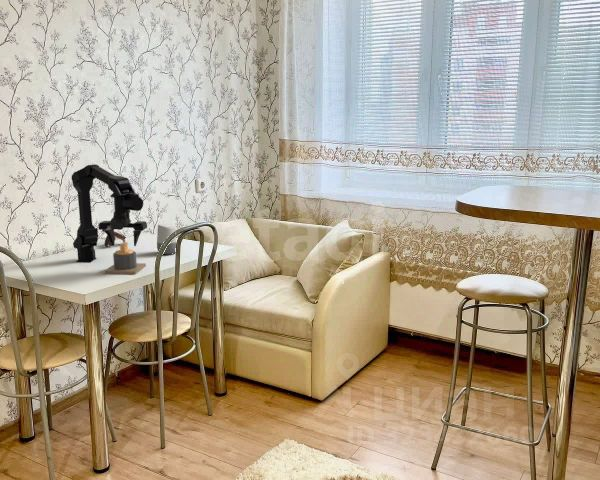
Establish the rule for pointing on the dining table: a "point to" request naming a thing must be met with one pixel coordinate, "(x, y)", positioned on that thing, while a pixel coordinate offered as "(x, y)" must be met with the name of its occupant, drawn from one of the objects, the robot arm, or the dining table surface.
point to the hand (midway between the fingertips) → (124, 245)
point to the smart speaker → (162, 236)
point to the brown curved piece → (116, 235)
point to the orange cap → (124, 249)
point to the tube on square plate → (125, 265)
